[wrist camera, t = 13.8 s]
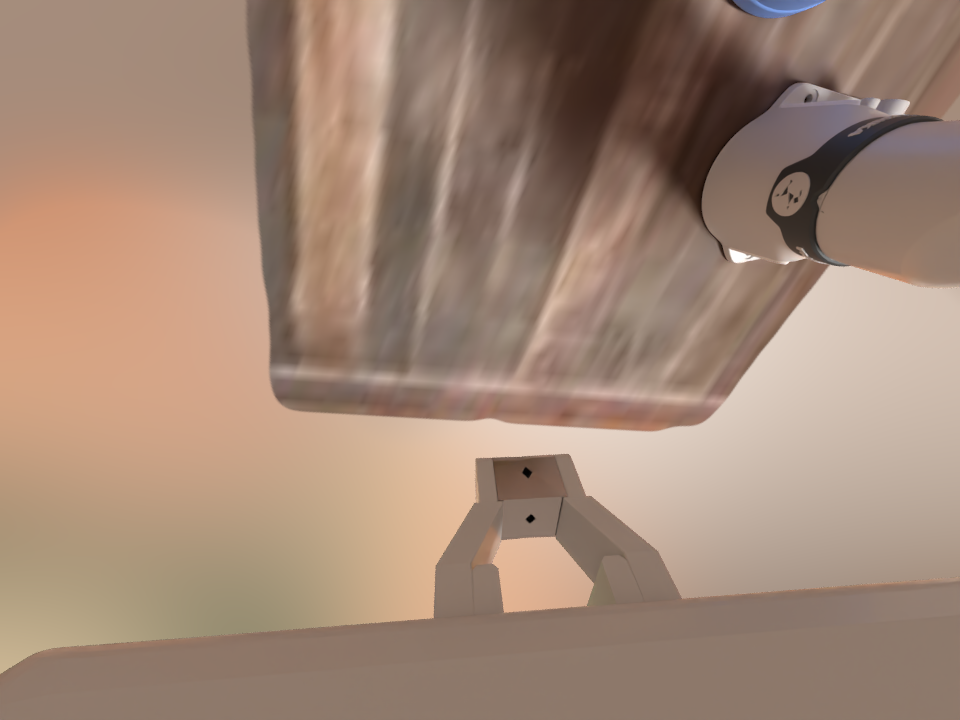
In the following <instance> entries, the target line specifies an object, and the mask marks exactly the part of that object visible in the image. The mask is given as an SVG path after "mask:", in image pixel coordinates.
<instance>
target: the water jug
mask: <svg viewBox="0 0 960 720" xmlns="http://www.w3.org/2000/svg"><path fill="white" fill-rule="evenodd" d="M733 1H734V3H735V4H736V5H737V6H739V7H740V8H741V9H742V10H744V11H746V12H747V13H749V14H752V15H754V16H758V17H762V18H780V17H786V16H790V15H793V14H796V13H799V12H801V11H804V10H807V9H809V8H812V7H814V6H816V5H818V4H820V3H822V2H824V1H826V0H733Z"/></svg>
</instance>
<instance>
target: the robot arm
mask: <svg viewBox="0 0 960 720" xmlns="http://www.w3.org/2000/svg"><path fill="white" fill-rule="evenodd" d="M806 96H807V100H806V102H805V103H804V100H805V98H806ZM909 103H910V102H909V101H906V100H899V99H885V100H881V101H880V99H877V98H863V99H862V100H860V99H857V98H854V97H851V96H848V95H845V94H841V93H838V92H835V91H832V90H829V89H825V88H822V87H819V86H816V85H813V84H809V83H795V84H793V85H792V86H790V87H789V88H788V89H787V90H786V91H785V92H784V93H783V94H782V95H781V96H780V97H779V98H778V99H777V101H776V102H775V103H774V104H773V105H772V106H771V108H770V109H769V110H768V111H766V112H765V113H764V114H762V115H761V116H759V117H758V118H756V119H755V120H753V121H752V122H750V123H749V124H747V125H746V126H745V127H743V128H742V129H741V130H740V131H739V132H738V133H736V134H735V135H734V136H733V137H732V138H731V139H730V141H729V142H728V143H727V144H726V145H725V147H724V148H723V149H722V150H721V152H720V153H719V155H718V156H717V158H716V160H715V161H714V163H713V165H712V167H711V169H710V171H709V173H708V176H707V179H706V182H705V185H704V189H703V195H702V213H703V218H704V221H705V224H706V226H707V228H708V230H709V231H710V232H711V233H712V235H713V236H714V237H716V238H717V239H718V240H719V241H720V242H721V244H722V246H723V250H724V254H725V257H726V259H727V260H728V261H729V262H733V263H742V262H747V261H752V260H756V259H764V260H768V261H771V262H775V263H778V264H787V263H788V262H790V261H797V260H801V259H805V258H807V259H809V260H812V261H815V262H818V263H823V264H829V265H834V266H854V267H856V268H860V269H863V270H866V271H869V272H873V273H876V274H879V275H883V276H886V277H889V278H892V279H895V280H899V281H902V282H905V283H908V284H912V285H915V286H919V287H927V288H954V287H960V120H956V121H943V120H941V119H939V118H936V117H930V116H920V115H910V114H904V112H905V111H906V109H907V108H908V106H909ZM475 477H476V478H475V481H476V482H475V483H476V503H474V505H473V506H472V508H471V510H470V511H469V513H468V514H467V516H466V518H465V519H464V521H463V523H462V524H461V526H460V528H459V529H458V531H457V532H456V534H455V536H454V537H453V539H452V540H451V542H450V544H449V545H448V547H447V549H446V550H445V552H444V553H443V555H442V557H441V558H440V560H439V562H438V563H437V565H436V572H435V573H436V574H435V600H434V618H432V619H420V620H407V621H395V622H382V623H369V624H357V625H344V626H332V627H319V628H306V629H293V630H280V631H268V632H255V633H242V634H229V635H217V636H204V637H191V638H179V639H165V640H152V641H141V642H127V643H114V644H101V645H87V646H74V647H61V648H53V649H48V650H44V651H41V652H38V653H35V654H33V655H31V656H29V657H27V658H26V659H24V660H22V661H21V662H19V663H17V664H16V665H14V666H12V667H11V668H9V669H8V670H6V671H4V672H3V673H1V674H0V720H960V577H951V578H938V579H926V580H914V581H900V582H888V583H875V584H862V585H850V586H837V587H824V588H813V589H799V590H787V591H774V592H761V593H750V594H736V595H724V596H711V597H699V598H687V599H682V598H681V596H680V594H679V592H678V590H677V588H676V586H675V584H674V582H673V580H672V578H671V576H670V574H669V572H668V570H667V568H666V566H665V564H664V562H663V561H662V558H661V556H660V555H659V553H658V551H657V550H655V548H653V547H652V546H651V545H650V544H648V543H647V542H646V541H645V540H644V539H642V538H641V537H640V536H639V535H638V534H636V533H635V532H634V531H633V530H631V529H630V528H629V527H628V526H627V525H625V524H624V523H623V522H622V521H621V520H619V519H618V518H617V517H616V516H615V515H613V514H612V513H611V512H610V511H608V510H607V509H606V508H605V507H604V506H602V505H601V504H600V503H599V502H598V501H596V500H595V499H594V498H593V497H591V496H586V495H585V492H584V489H583V487H582V484H581V482H580V479H579V477H578V474H577V471H576V469H575V466H574V464H573V461H572V459H571V456H570V455H569V454H559V455H540V456H524V457H501V458H477V459H476V475H475ZM528 537H556V539H557V540H558V541H559V543H560V544H561V545H562V546H563V547H564V549H565V550H566V551H567V552H568V553H569V554H570V556H571V557H572V558H573V559H574V560H575V561H576V563H577V564H578V565H579V566H580V567H581V569H582V570H583V571H584V572H585V573H586V575H587V576H588V577H589V578H590V579H591V580H592V582H593V583H594V586H593V589H592V592H591V595H590V598H589V601H588V604H587V606H584V607H571V608H559V609H547V610H534V611H521V612H509V613H504V611H503V603H502V595H501V588H500V579H499V571H498V568H497V567H496V566H495V565H493V564H492V562H493V559H494V557H495V555H496V552H497V550H498V548H499V546H500V543H501V540H507V539H518V538H528Z"/></svg>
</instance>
